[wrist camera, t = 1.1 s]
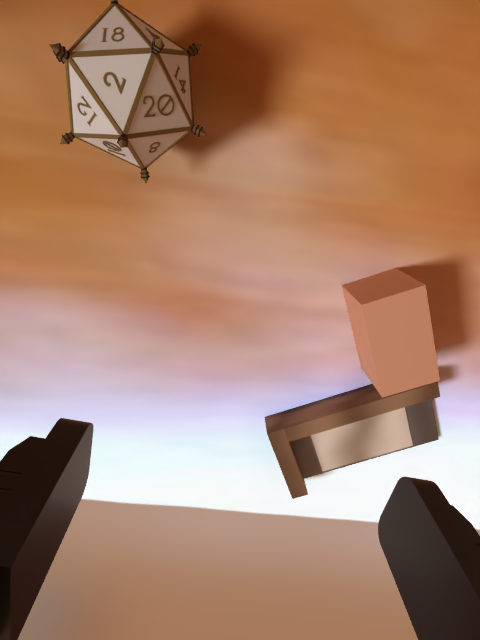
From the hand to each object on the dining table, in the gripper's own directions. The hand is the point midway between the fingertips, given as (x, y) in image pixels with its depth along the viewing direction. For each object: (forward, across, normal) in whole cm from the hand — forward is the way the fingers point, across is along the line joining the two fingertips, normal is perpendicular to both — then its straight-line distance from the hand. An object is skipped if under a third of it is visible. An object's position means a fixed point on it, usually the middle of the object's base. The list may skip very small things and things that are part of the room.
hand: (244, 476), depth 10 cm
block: (+22, -13, +2) cm, 26 cm away
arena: (+22, -14, +13) cm, 29 cm away
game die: (+22, +8, -10) cm, 26 cm away
